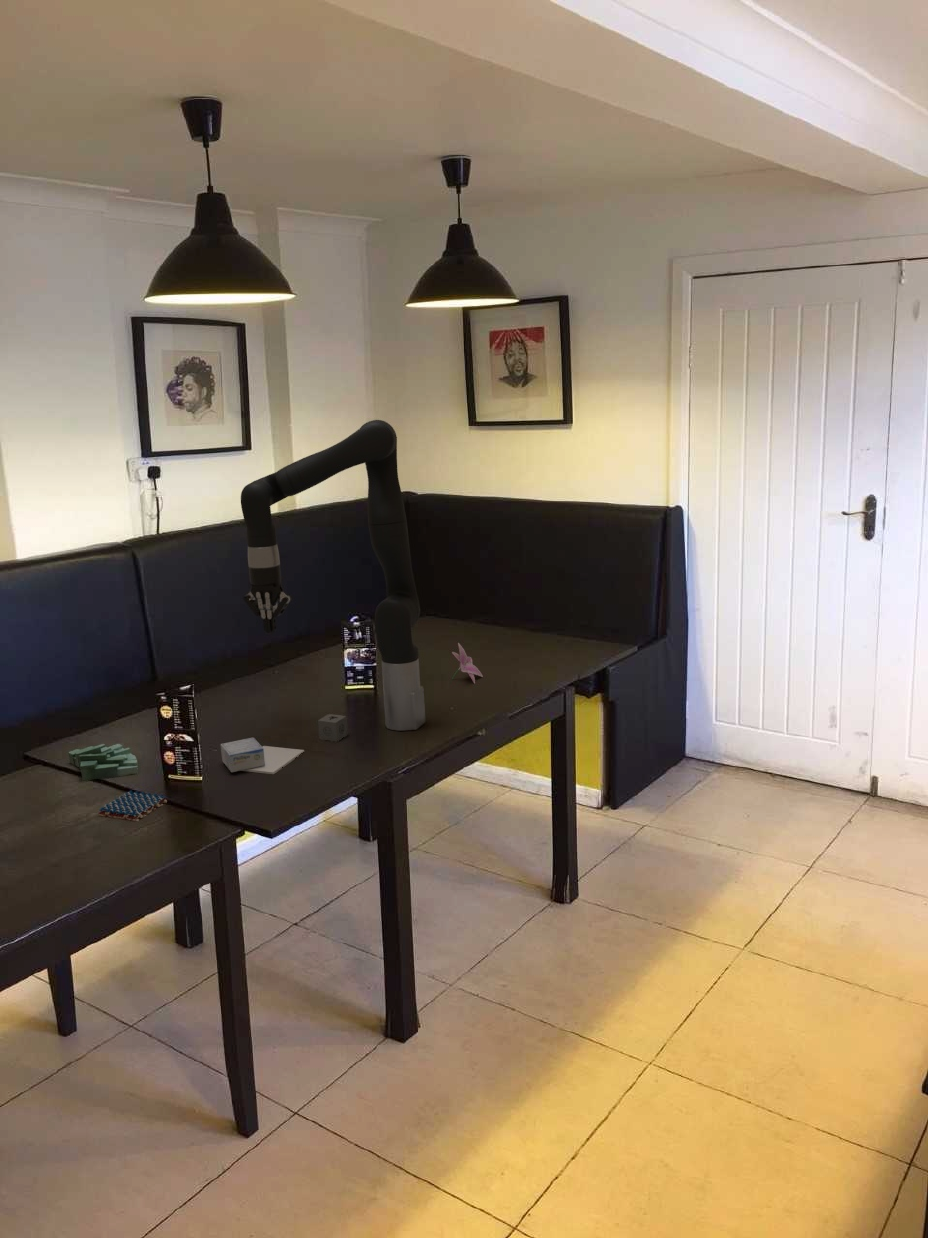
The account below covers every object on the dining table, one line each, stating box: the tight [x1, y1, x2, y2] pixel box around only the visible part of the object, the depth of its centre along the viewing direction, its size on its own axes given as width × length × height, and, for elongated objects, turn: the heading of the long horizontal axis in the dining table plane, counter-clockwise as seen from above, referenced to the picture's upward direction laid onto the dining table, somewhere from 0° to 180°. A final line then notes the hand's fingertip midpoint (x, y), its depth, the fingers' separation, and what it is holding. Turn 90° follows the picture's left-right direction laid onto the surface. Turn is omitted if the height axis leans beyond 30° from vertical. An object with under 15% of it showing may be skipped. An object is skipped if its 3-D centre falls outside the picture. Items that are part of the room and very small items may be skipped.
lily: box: [451, 642, 484, 684], centre depth 294 cm, size 12×12×10 cm
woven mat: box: [98, 790, 168, 822], centre depth 217 cm, size 10×11×2 cm
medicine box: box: [220, 737, 265, 773], centre depth 237 cm, size 8×4×9 cm
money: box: [67, 743, 139, 782], centre depth 240 cm, size 20×16×5 cm
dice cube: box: [317, 713, 349, 743], centre depth 253 cm, size 5×5×5 cm
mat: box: [240, 745, 305, 775], centre depth 240 cm, size 11×14×1 cm
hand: (270, 632), depth 255 cm, fingers closed
